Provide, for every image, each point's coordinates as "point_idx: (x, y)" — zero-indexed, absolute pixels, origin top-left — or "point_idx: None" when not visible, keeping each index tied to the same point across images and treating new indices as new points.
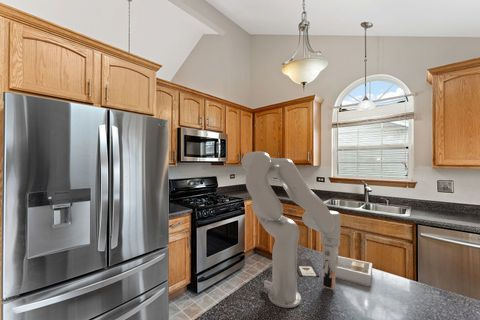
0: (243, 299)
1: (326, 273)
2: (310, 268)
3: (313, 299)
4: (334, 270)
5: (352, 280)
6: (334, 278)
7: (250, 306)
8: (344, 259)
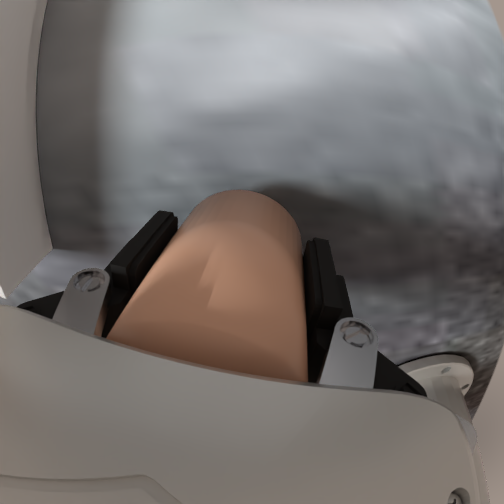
0: None
1: (464, 429)
2: None
3: (412, 312)
4: (447, 417)
5: (27, 68)
6: (264, 254)
7: None
8: None
